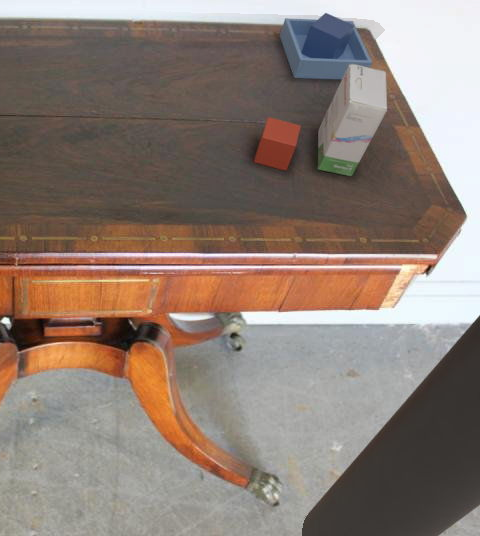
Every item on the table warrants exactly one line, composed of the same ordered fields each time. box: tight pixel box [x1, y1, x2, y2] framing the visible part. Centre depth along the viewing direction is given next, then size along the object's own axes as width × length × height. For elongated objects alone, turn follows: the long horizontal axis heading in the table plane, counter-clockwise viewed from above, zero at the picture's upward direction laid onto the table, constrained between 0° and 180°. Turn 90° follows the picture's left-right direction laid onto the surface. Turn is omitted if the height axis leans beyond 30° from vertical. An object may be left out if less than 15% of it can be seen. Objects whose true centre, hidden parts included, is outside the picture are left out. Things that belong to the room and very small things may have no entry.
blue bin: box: [279, 17, 373, 81], centre depth 113 cm, size 11×11×3 cm
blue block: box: [301, 12, 354, 59], centre depth 112 cm, size 5×5×5 cm
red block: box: [253, 116, 302, 172], centre depth 97 cm, size 4×4×4 cm
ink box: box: [316, 64, 388, 177], centre depth 95 cm, size 9×5×12 cm, turn 167°
